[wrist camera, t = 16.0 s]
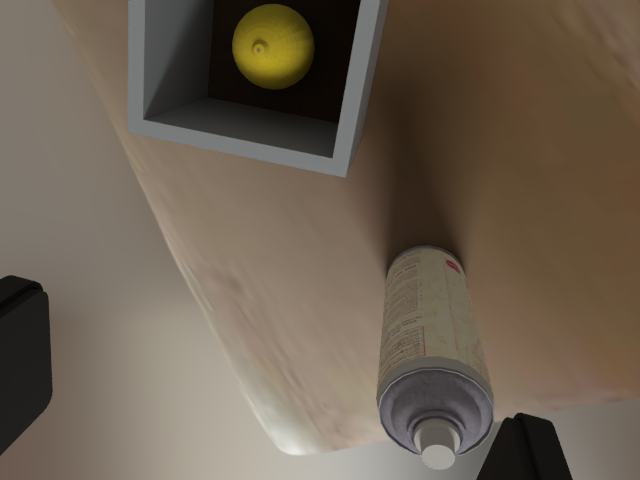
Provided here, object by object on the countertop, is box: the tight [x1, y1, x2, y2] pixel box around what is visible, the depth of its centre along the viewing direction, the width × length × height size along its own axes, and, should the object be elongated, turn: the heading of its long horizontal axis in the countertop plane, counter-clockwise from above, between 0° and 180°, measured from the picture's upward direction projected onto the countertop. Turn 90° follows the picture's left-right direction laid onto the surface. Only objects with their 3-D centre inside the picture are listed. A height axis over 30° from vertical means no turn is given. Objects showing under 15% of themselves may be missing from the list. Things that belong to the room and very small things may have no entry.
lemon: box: [232, 4, 315, 90], centre depth 35 cm, size 6×6×8 cm
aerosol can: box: [376, 245, 494, 469], centre depth 35 cm, size 7×7×20 cm
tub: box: [128, 0, 389, 178], centre depth 33 cm, size 14×12×11 cm
